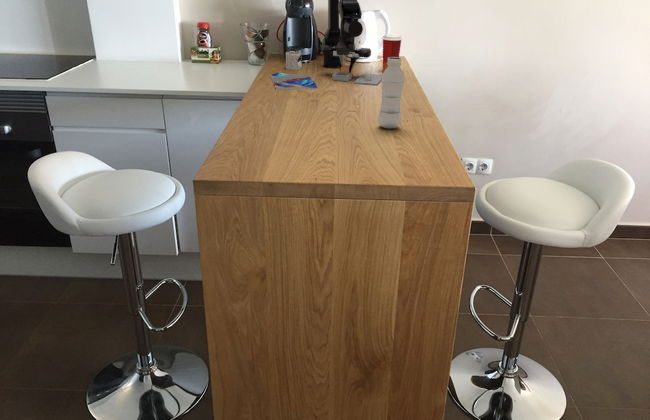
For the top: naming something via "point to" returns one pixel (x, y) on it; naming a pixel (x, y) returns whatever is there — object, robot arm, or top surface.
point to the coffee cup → (390, 47)
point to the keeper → (369, 78)
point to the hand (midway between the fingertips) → (345, 73)
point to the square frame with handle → (343, 73)
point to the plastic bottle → (391, 94)
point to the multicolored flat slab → (293, 81)
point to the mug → (293, 60)
